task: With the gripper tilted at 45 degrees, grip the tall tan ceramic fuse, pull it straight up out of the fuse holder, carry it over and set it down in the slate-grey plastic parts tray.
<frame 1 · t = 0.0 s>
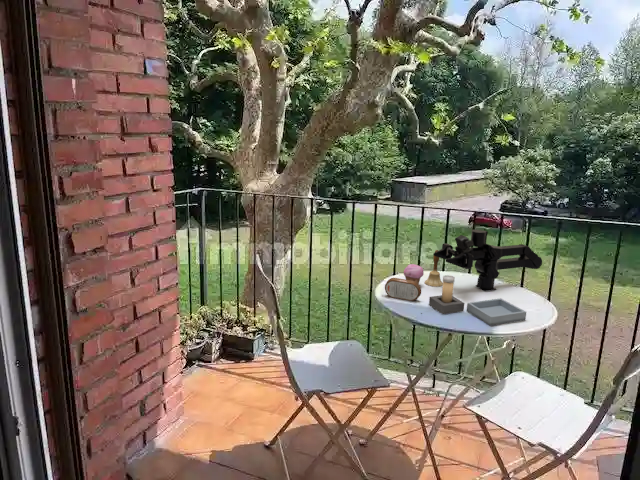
hand: (439, 257, 195), 17 cm above the table, tool horizontal, fingers open, 9 cm apart
parts tray: (495, 315, 178), on the table
cupcake: (412, 286, 208), on the table
tin: (401, 299, 194), on the table
fuse holder: (446, 308, 185), on the table
fuse: (447, 292, 183), in the fuse holder
hand bell: (433, 284, 212), on the table
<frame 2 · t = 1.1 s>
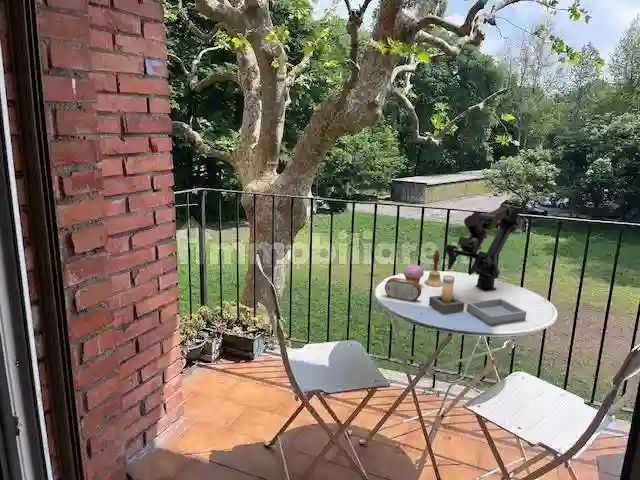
hand: (458, 271, 186), 14 cm above the table, tool tilted 45°, fingers open, 9 cm apart
nothing on the table moved.
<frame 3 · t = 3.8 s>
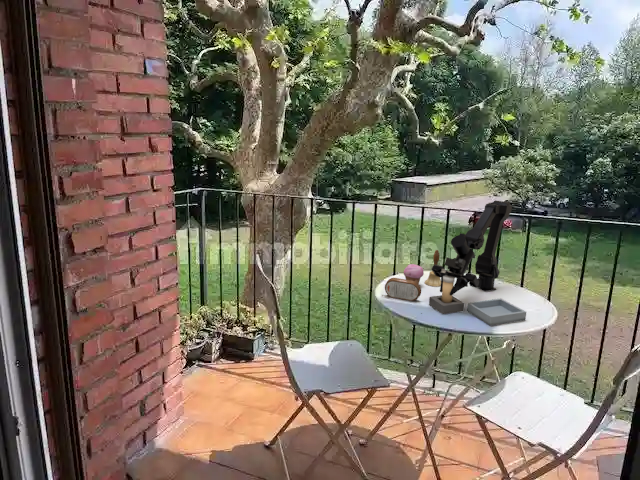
hand: (445, 293, 182), 7 cm above the table, tool tilted 45°, fingers closed on fuse, 4 cm apart
fuse: (447, 292, 183), in the fuse holder, touching gripper
everything else where it was.
when the fingers open (9 cm above the table, at t = 8.2 s): fuse drops 1 cm, resting on parts tray.
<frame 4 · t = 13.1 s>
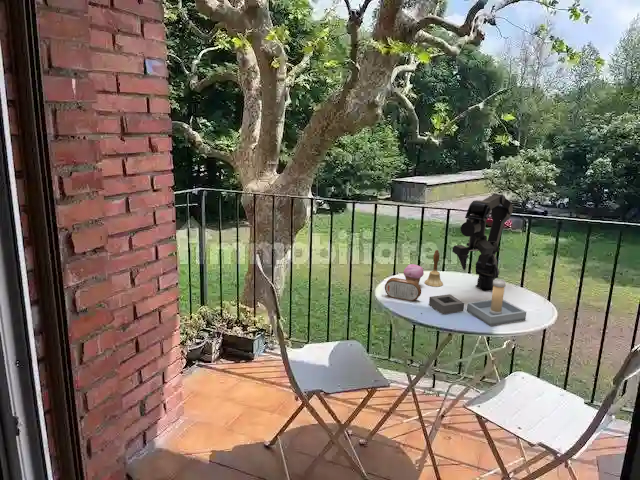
hand: (473, 268, 192), 13 cm above the table, tool pointing down, fingers open, 9 cm apart
fuse: (497, 297, 176), in the parts tray, point 8 cm above the table
everything else where it was.
at the end: fuse inside the target area on the parts tray (0.0 cm from its centre), point 7.5 cm above the parts tray's base; the gripper is holding nothing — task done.
